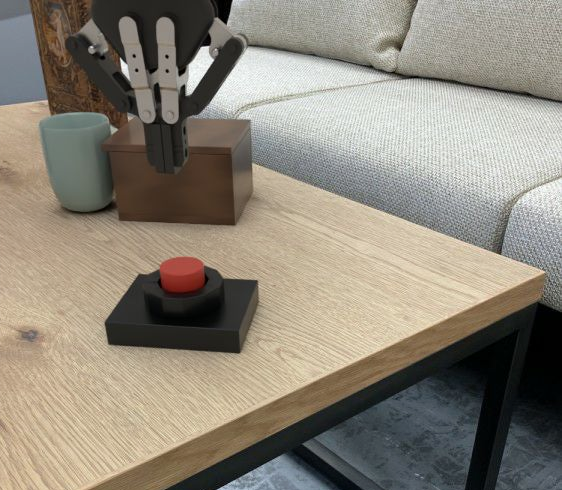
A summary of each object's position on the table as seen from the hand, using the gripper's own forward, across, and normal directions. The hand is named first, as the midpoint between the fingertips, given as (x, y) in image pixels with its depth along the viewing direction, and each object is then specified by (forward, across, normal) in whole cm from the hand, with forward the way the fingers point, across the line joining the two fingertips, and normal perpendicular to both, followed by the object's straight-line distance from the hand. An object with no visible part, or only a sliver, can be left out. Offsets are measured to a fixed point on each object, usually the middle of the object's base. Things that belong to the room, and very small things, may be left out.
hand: (169, 171), depth 53 cm
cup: (+14, +19, -26) cm, 35 cm away
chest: (+13, +7, -28) cm, 32 cm away
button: (+9, 0, 0) cm, 10 cm away
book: (+14, +30, -58) cm, 67 cm away
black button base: (+13, 0, 0) cm, 13 cm away
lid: (+5, +7, -28) cm, 30 cm away
